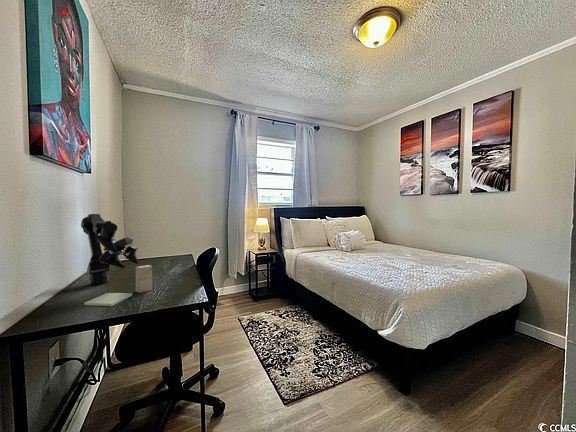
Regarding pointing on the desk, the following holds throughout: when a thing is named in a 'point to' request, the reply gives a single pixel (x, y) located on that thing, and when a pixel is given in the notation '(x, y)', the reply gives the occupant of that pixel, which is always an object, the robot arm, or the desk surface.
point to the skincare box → (143, 278)
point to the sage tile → (108, 299)
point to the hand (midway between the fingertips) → (131, 265)
